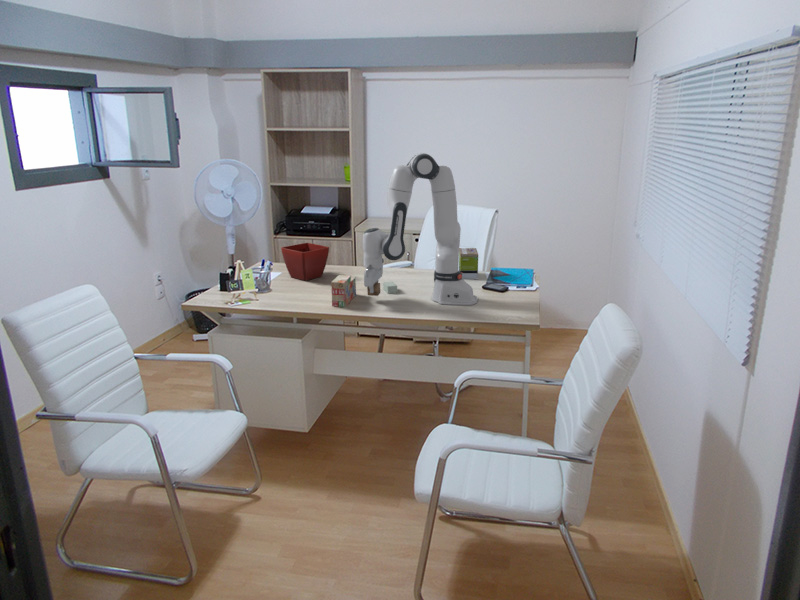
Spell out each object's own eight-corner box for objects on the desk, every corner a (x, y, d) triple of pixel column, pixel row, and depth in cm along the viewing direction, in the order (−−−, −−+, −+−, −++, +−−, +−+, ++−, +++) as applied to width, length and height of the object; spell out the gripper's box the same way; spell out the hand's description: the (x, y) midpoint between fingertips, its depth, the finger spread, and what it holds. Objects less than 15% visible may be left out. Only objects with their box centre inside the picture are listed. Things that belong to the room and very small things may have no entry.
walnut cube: (380, 292, 286) (380, 282, 284) (377, 295, 281) (377, 285, 280) (370, 292, 287) (370, 282, 285) (367, 295, 282) (367, 285, 281)
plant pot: (308, 270, 340) (307, 242, 335) (331, 276, 328) (330, 246, 323) (281, 277, 326) (280, 247, 321) (304, 283, 314) (303, 252, 309)
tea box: (458, 272, 338) (458, 247, 333) (475, 273, 337) (476, 247, 333) (459, 279, 323) (460, 253, 319) (477, 280, 323) (479, 253, 318)
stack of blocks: (344, 293, 296) (343, 270, 293) (356, 294, 295) (355, 270, 292) (331, 306, 276) (331, 281, 273) (344, 307, 275) (344, 282, 272)
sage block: (392, 288, 306) (392, 281, 305) (397, 293, 299) (397, 285, 297) (383, 289, 304) (383, 282, 303) (387, 294, 297) (387, 286, 296)
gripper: (373, 268, 269) (374, 297, 273) (384, 258, 288) (385, 285, 292) (360, 267, 271) (361, 296, 275) (372, 257, 290) (373, 284, 294)
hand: (373, 290), depth 284 cm, fingers closed on walnut cube, 5 cm apart
